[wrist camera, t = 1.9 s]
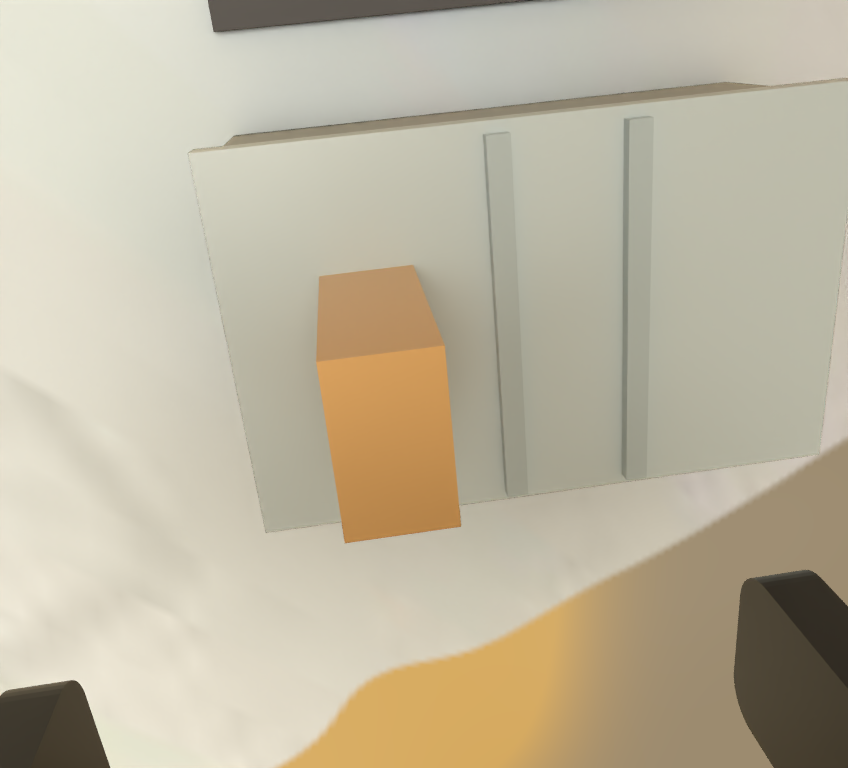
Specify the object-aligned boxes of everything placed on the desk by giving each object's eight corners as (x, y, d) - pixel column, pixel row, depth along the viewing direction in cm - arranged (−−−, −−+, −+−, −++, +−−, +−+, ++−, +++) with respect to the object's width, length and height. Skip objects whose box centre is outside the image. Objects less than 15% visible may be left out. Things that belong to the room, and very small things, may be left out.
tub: (725, 82, 26) (832, 91, 21) (710, 364, 30) (796, 435, 25) (233, 135, 25) (207, 160, 20) (285, 420, 29) (276, 507, 24)
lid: (822, 76, 21) (1069, 91, 14) (787, 428, 26) (965, 575, 18) (199, 144, 20) (129, 197, 13) (270, 500, 25) (246, 686, 17)
